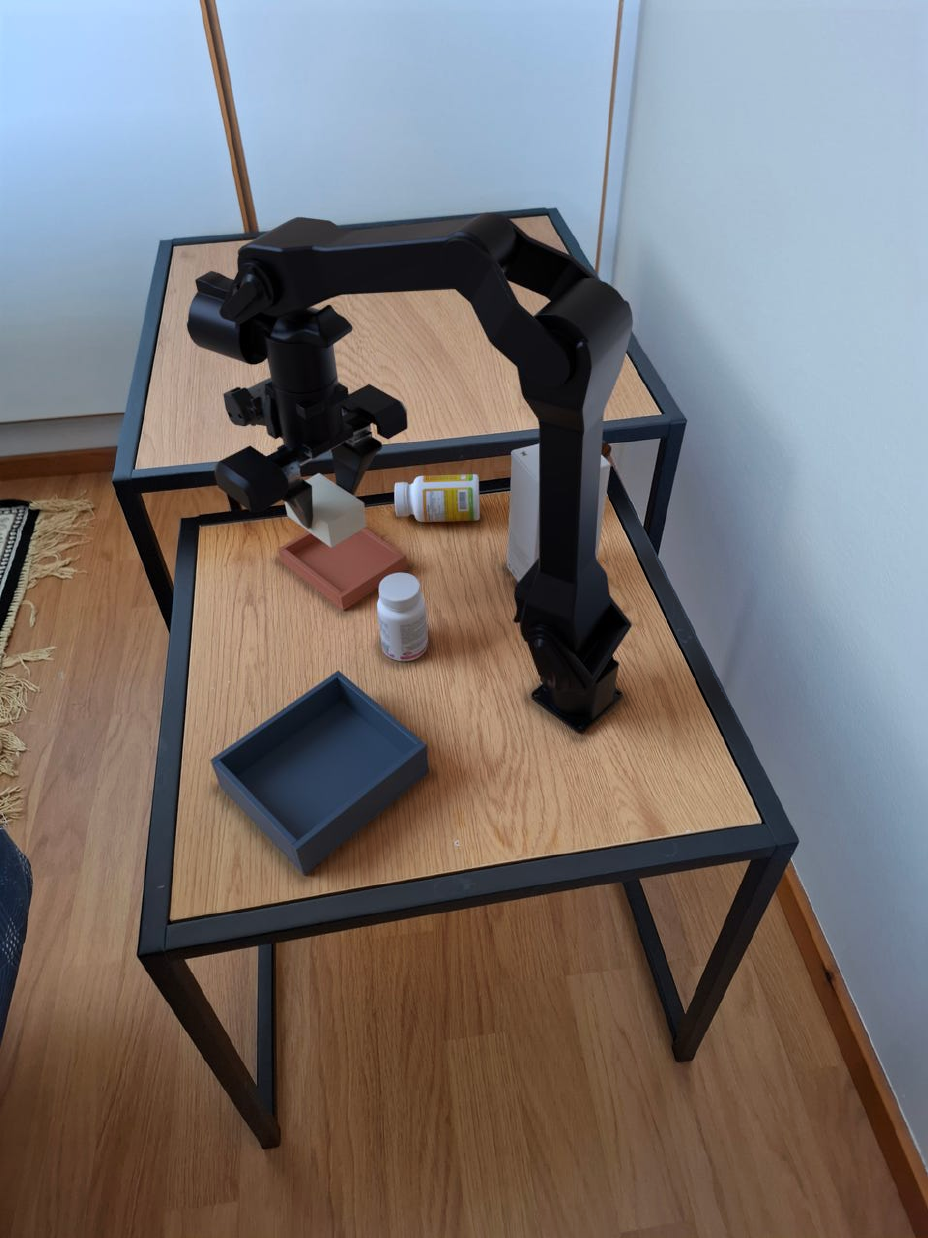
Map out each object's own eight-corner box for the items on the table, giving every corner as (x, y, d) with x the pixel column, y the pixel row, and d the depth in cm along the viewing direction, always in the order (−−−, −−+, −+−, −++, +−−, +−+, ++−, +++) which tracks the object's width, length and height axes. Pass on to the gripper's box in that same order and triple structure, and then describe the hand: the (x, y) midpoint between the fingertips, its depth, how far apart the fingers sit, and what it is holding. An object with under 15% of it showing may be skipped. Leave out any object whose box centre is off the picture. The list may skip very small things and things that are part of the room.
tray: (407, 569, 98) (406, 555, 96) (343, 611, 93) (341, 597, 92) (343, 523, 103) (341, 510, 102) (280, 561, 99) (277, 548, 97)
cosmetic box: (530, 602, 94) (537, 486, 82) (503, 565, 98) (506, 449, 87) (598, 580, 96) (614, 463, 85) (569, 544, 100) (580, 428, 89)
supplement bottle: (479, 491, 105) (399, 493, 106) (478, 464, 101) (394, 466, 101) (480, 529, 103) (398, 531, 103) (479, 503, 98) (393, 506, 98)
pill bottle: (433, 632, 91) (429, 573, 85) (421, 666, 88) (417, 607, 82) (389, 625, 92) (382, 566, 86) (376, 658, 88) (368, 599, 82)
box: (429, 773, 79) (427, 744, 76) (304, 876, 72) (296, 850, 69) (343, 698, 85) (338, 669, 82) (220, 787, 78) (209, 759, 75)
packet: (367, 526, 87) (364, 502, 85) (331, 548, 85) (327, 524, 83) (322, 495, 91) (318, 472, 89) (287, 516, 89) (282, 492, 86)
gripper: (328, 308, 85) (345, 443, 96) (161, 383, 75) (201, 522, 87) (406, 348, 79) (415, 486, 90) (236, 434, 70) (269, 576, 81)
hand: (326, 514), depth 87 cm, fingers closed on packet, 4 cm apart
